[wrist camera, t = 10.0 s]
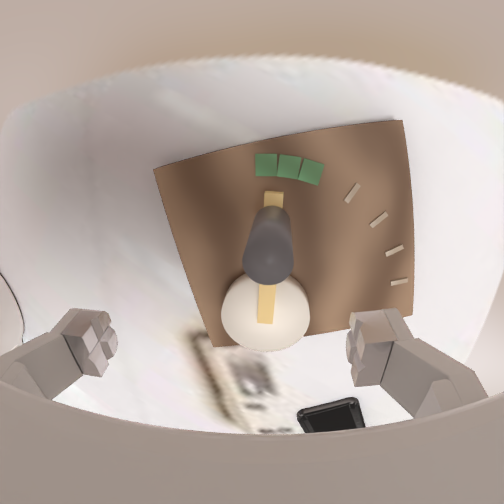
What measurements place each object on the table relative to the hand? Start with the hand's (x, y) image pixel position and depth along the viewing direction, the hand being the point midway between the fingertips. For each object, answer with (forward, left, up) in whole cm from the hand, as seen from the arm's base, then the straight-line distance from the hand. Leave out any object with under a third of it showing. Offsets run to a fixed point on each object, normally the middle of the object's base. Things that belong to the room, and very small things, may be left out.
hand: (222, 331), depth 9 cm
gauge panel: (+3, -3, -16) cm, 16 cm away
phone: (+4, -32, -16) cm, 36 cm away
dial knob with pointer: (0, -5, -14) cm, 14 cm away
